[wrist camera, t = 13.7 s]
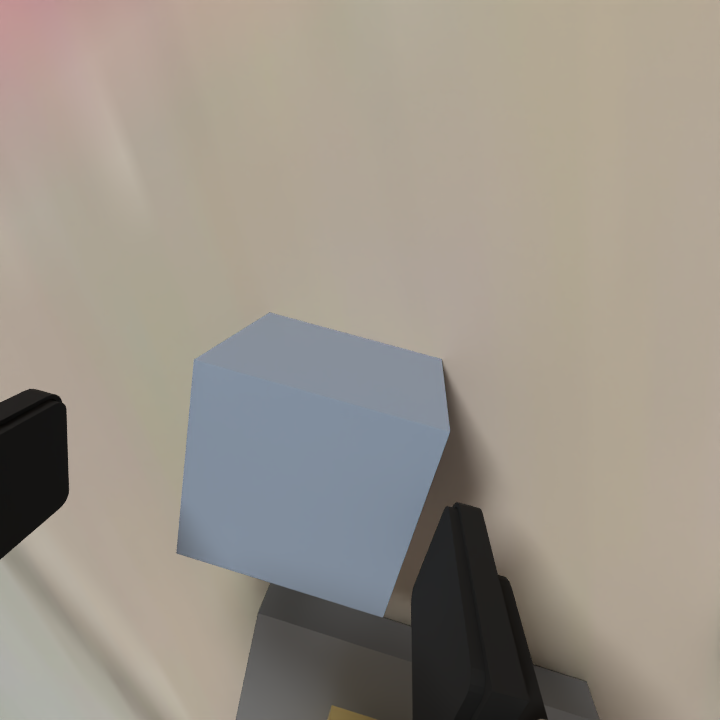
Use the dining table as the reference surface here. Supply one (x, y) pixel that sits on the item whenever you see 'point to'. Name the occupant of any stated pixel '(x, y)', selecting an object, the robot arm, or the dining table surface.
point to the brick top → (310, 458)
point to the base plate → (351, 665)
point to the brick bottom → (345, 715)
